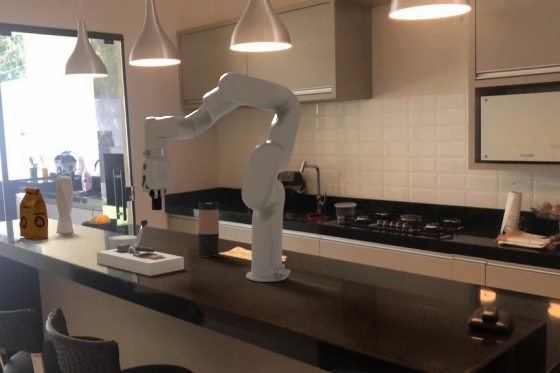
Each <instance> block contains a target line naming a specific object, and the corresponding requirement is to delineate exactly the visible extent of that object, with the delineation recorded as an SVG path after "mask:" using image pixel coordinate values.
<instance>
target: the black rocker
mask: <svg viewBox="0 0 560 373" xmlns="http://www.w3.org/2000/svg"><path fill="white" fill-rule="evenodd" d="M135 251H140V252H154V251H155V248H153V247H145V246H144V247H140V246H137V247H136V250H135Z"/></svg>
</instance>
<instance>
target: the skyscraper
mask: <svg viewBox="0 0 560 373" xmlns="http://www.w3.org/2000/svg"><path fill="white" fill-rule="evenodd" d="M65 174H69V176H68V175H65ZM55 200H56V201H55V202H56V207H57V212H58V220H57V221H58V222H57V227H56V234H65V235H67V234H72V233H74V228H73V222H72V216H71V214H72V210H73V204H74V187H73V180H72V172H69V171H68V172H62V173H60V174H59V175H58V176H57V180H56V188H55Z"/></svg>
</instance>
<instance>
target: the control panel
mask: <svg viewBox="0 0 560 373" xmlns="http://www.w3.org/2000/svg"><path fill="white" fill-rule="evenodd" d="M131 248H133V247H130V248H128V252H126V253H119V252H117V249H113V250H111V249H108V250H107V249H105V250H100V251H96V264H99V265H103V266H106V267H111V268H115V269H118V270H119V269H120V270H123V271H124V270H125V271H128V272H132V273H136V274H140V275H144V276H147V277H151V276H157V275H161V274H167V273H171V272H177V271H182V270H184V269H185V257H184V256H179V255H175V254H169V253H164V252H159V251H155V250H154V252H140V251H135V250H136V249H134V253H132V252H131V251H130V250H131ZM151 255H163V259H159V260H152V259H150V256H151Z"/></svg>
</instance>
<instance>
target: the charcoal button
mask: <svg viewBox="0 0 560 373" xmlns="http://www.w3.org/2000/svg"><path fill="white" fill-rule="evenodd" d="M128 248H130V244H118V245H117V252H119V253H126V252H128Z"/></svg>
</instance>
